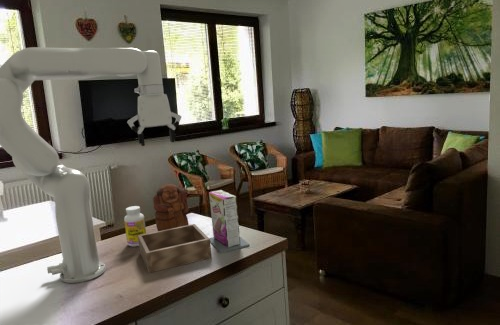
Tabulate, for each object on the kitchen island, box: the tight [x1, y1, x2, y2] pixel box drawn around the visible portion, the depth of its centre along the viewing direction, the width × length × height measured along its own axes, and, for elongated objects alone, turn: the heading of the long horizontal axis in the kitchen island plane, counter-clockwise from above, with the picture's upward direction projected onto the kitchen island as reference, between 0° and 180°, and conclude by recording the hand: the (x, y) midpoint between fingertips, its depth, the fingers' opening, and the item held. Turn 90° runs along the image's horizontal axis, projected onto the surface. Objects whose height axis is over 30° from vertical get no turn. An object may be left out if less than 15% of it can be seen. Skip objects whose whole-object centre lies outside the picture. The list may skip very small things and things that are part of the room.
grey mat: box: [208, 236, 250, 254], centre depth 138 cm, size 10×13×1 cm
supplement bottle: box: [124, 205, 147, 247], centre depth 143 cm, size 7×7×13 cm
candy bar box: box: [208, 189, 241, 248], centre depth 136 cm, size 11×5×16 cm, turn 30°
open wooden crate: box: [138, 223, 212, 274], centre depth 131 cm, size 19×17×6 cm
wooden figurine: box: [152, 183, 190, 231], centre depth 151 cm, size 12×6×18 cm, turn 125°
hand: (157, 143), depth 136 cm, fingers open, 9 cm apart
